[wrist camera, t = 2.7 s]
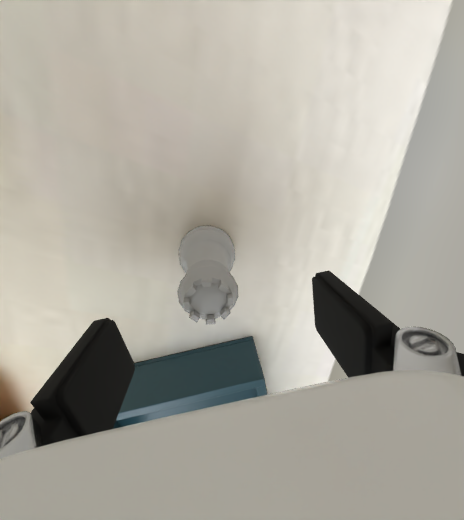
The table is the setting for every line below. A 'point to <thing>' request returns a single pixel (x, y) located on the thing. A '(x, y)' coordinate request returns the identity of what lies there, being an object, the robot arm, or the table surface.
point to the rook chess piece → (207, 274)
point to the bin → (192, 381)
